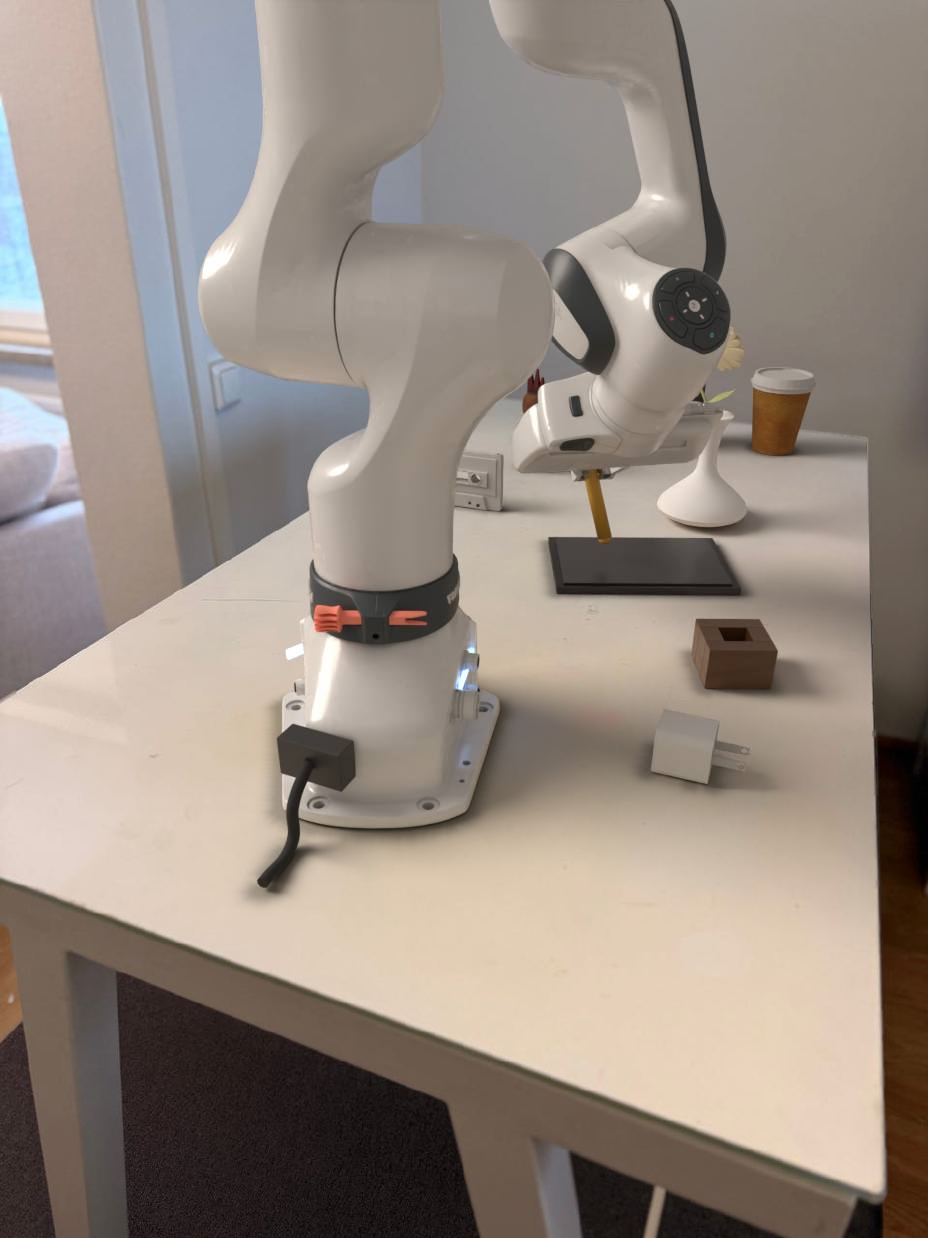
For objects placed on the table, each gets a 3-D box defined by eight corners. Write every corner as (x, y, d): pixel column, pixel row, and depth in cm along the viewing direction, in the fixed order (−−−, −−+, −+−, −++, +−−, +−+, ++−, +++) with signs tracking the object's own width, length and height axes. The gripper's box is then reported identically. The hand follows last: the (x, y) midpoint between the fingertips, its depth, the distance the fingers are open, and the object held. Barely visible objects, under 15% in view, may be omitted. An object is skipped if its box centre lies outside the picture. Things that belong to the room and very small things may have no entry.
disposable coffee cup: (810, 446, 145) (823, 370, 139) (794, 462, 138) (808, 383, 132) (751, 437, 150) (762, 363, 144) (733, 452, 143) (744, 375, 137)
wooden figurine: (508, 462, 138) (510, 363, 131) (541, 457, 140) (545, 359, 133) (529, 475, 133) (533, 372, 126) (563, 470, 135) (569, 368, 128)
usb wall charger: (659, 746, 74) (665, 705, 72) (747, 765, 72) (754, 724, 70) (650, 775, 71) (655, 733, 69) (741, 796, 68) (749, 753, 66)
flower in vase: (763, 527, 115) (797, 324, 103) (688, 540, 111) (714, 331, 100) (703, 494, 126) (728, 306, 114) (632, 505, 122) (650, 312, 110)
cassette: (504, 508, 121) (505, 452, 118) (499, 512, 120) (500, 457, 116) (423, 496, 125) (421, 442, 122) (417, 500, 124) (415, 446, 120)
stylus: (614, 543, 102) (586, 414, 97) (599, 547, 103) (570, 418, 97) (612, 539, 104) (584, 411, 99) (597, 543, 104) (569, 415, 99)
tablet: (740, 594, 98) (741, 586, 98) (556, 593, 99) (556, 585, 98) (711, 543, 111) (712, 536, 110) (548, 542, 111) (548, 535, 110)
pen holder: (771, 689, 82) (778, 650, 80) (704, 688, 82) (709, 650, 80) (753, 655, 87) (759, 618, 85) (690, 654, 87) (695, 618, 85)
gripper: (723, 375, 90) (672, 443, 103) (524, 385, 86) (497, 454, 99) (738, 432, 88) (684, 494, 101) (535, 444, 84) (506, 507, 97)
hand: (590, 474), depth 100 cm, fingers closed on stylus, 2 cm apart
